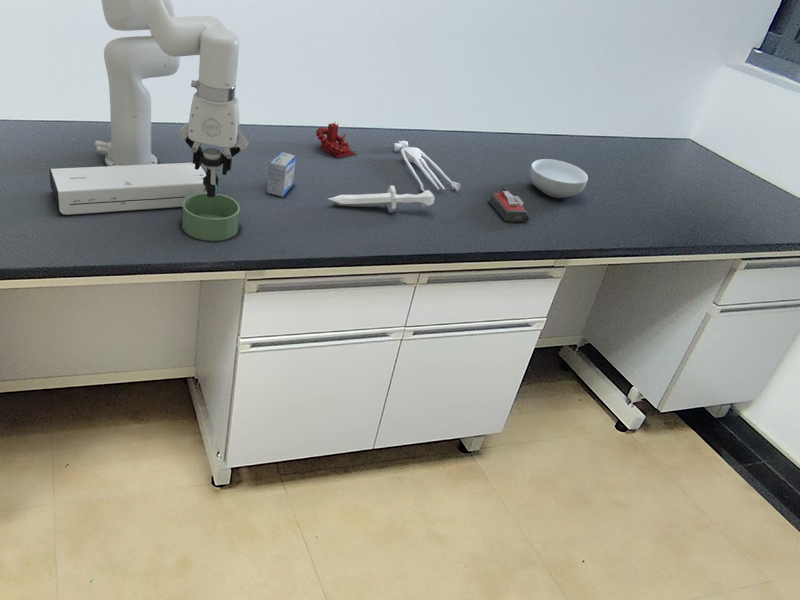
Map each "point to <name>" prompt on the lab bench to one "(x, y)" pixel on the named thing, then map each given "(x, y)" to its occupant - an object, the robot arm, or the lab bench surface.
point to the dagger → (384, 199)
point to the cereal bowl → (557, 178)
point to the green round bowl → (210, 217)
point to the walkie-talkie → (509, 206)
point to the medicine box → (281, 174)
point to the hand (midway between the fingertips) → (211, 169)
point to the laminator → (124, 187)
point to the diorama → (333, 141)
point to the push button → (211, 169)
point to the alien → (420, 163)
